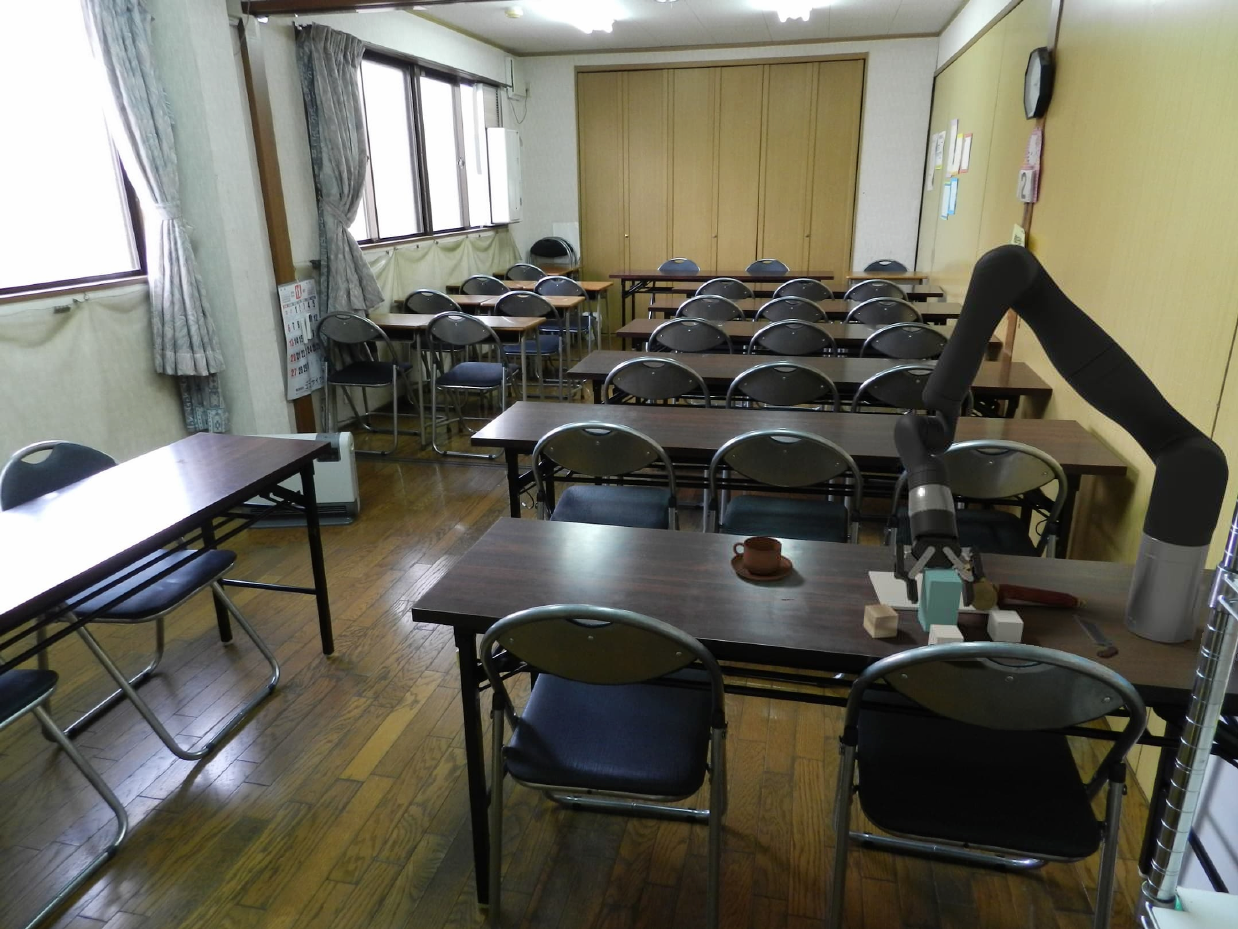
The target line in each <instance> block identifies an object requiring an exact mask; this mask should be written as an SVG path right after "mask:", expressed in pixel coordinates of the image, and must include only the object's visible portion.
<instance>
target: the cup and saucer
mask: <svg viewBox="0 0 1238 929" xmlns="http://www.w3.org/2000/svg"><path fill="white" fill-rule="evenodd" d="M738 546H741V547H742V548H743V552H738V550H737V547H738ZM782 548H783V543H782V542H781V541H779V539H776V538H774V537H771V536H770V537H769V536H761V535H758V536H757V535H756V536H752V537H748V538H746V539H745V540H744V541H743V542H740V541H738V542H735V543H734V544H733V547H732V550H733V553H734V556H732V558H731V560H730V565H731V568H732V569H733V570H734V571H735V572H736V573H737V574H738V575H740V576H741V577H744V578H747V579H750V580H756V581H761V582H762V581H766V582H767V581H768V582H769V581H770V582H771V581H776V580H780V579H782V578H785V577H787V576H788V575H790V574H791V572H792V571H793V567H794V564H793V562H792V561H791V560H790V559H789V558H787V557H786V556H785V555H782Z"/></svg>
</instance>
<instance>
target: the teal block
mask: <svg viewBox="0 0 1238 929" xmlns="http://www.w3.org/2000/svg"><path fill="white" fill-rule="evenodd" d="M922 570H923V571H922V574H923V578H922V586H921V595H920V603H919V610H917V611H918V613H917V619H918V620H919V622H920V625H921V627H922V629H923V631H924V633H930V626H931V625H955V626H957V627H958V625H957V624H958V618H959V613H960V612H959V604H960V597H961V590H962V581H961V579H960V578H959V576H958V574H957V573H956V571H955V570H954V569H938V568H923V569H922Z"/></svg>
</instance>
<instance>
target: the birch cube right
mask: <svg viewBox="0 0 1238 929" xmlns="http://www.w3.org/2000/svg"><path fill="white" fill-rule="evenodd" d="M863 617H864V618H863V628H864V629H865V630H866V631H867V633H868V634H869V635H870V636H871V637H872V638H873V639H878V638H880V639H881V638H890V637H891V638H892V637H897V633H898V623H899V614H898V613H897V612H896V611H895V609H892V608H891V607H890V606H889V605H888V604H881V603H879V604H871V605H870V604H869V605H864V614H863Z"/></svg>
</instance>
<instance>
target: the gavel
mask: <svg viewBox="0 0 1238 929" xmlns="http://www.w3.org/2000/svg"><path fill="white" fill-rule="evenodd" d="M964 566H965V568H966V570H967V571H968V572H969V573H970V574H971V569H970V564H969V563H965V564H964ZM971 575H972V574H971ZM986 578H987V576H986V574H985V573H984V577H983V579H981V580H980V582H979V583H973V588H974V596H975V599H974V601H973V602H972V603H971V605H972V606H973V607H974V608H975V609H977V610H982V611H984V610H989V609H991V608H992V607H994V606H995V604H996V605H997V603H998V597H1001V598H1003V599H1009V600H1016V601H1022V602H1028V603H1035V604H1040V605H1041V604H1042V605H1047V606H1054V607H1059V608H1060V607H1061V608H1065V609H1066V608H1067V609H1068V608H1075V607H1078V608H1079V607H1080V606H1082V607H1085V606H1086V605H1087V601H1086V600H1084V599H1082V600H1081V598H1079V597H1077V596H1075V595H1072V594H1070V593H1067V592H1060V591H1054V590H1048V589H1041V588H1035V587H1028V586H1022V585H1015V584H1010V583H995V582H991V581H990V582H989V581H988V580H987V579H986ZM962 585H963V584H962Z"/></svg>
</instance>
